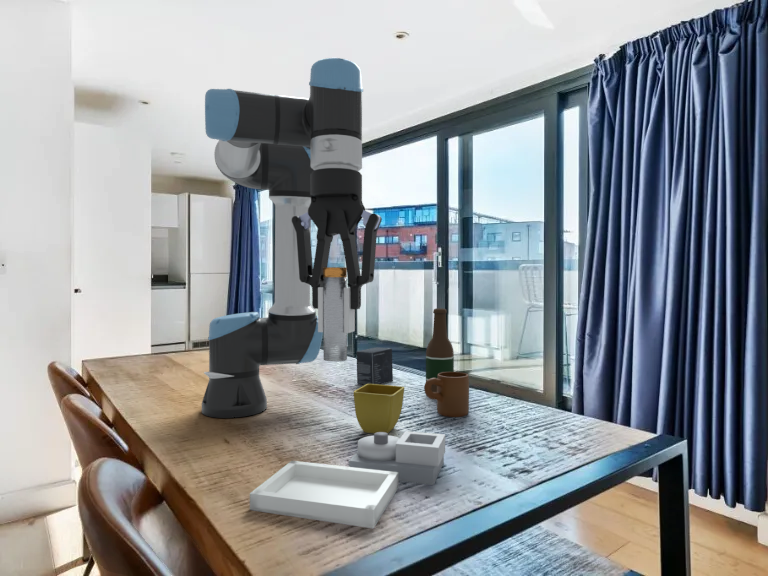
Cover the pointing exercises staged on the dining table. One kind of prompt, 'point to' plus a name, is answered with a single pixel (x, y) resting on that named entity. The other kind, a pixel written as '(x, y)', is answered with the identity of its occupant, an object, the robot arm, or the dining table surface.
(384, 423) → the flower pot
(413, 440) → the tensioner block
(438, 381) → the mug
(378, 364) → the box
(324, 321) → the pin
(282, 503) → the tray
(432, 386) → the beer bottle
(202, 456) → the dining table surface
